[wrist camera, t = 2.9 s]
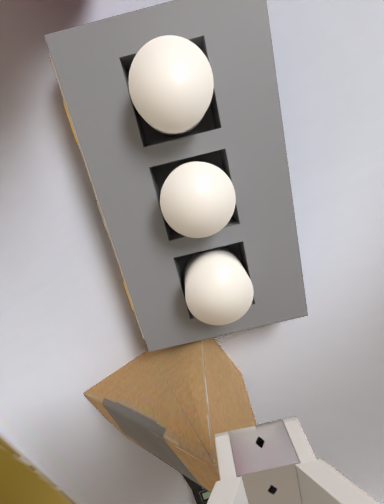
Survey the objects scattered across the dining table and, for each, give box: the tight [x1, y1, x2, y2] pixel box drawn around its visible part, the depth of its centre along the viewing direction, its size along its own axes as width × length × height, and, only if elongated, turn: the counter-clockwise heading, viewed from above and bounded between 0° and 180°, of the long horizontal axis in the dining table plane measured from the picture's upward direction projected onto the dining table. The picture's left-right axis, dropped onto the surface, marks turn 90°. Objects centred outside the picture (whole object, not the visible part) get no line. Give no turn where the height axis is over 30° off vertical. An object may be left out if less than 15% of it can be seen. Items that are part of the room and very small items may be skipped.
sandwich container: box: [83, 337, 256, 493], centre depth 25 cm, size 9×15×15 cm, turn 125°
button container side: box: [184, 247, 254, 325], centre depth 24 cm, size 5×5×4 cm
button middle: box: [160, 161, 236, 238], centre depth 22 cm, size 5×5×4 cm
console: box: [44, 0, 308, 352], centre depth 24 cm, size 15×24×4 cm, turn 13°
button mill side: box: [128, 35, 214, 136], centre depth 19 cm, size 5×5×4 cm
